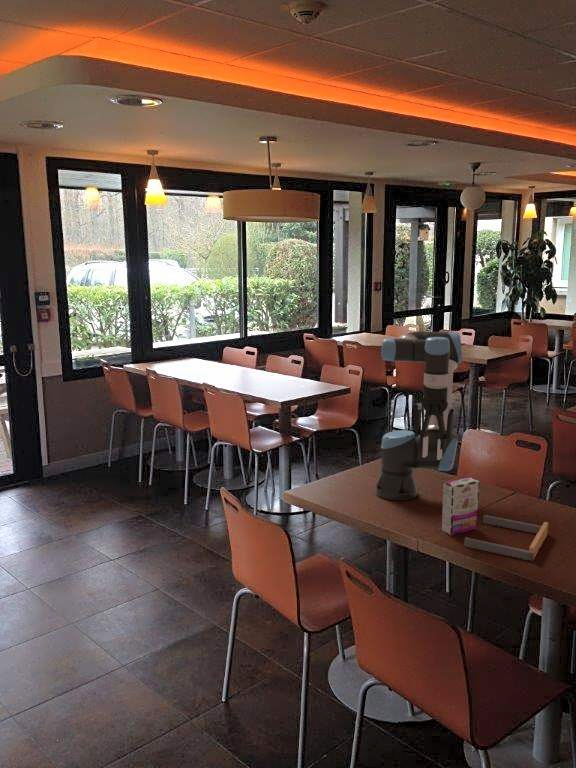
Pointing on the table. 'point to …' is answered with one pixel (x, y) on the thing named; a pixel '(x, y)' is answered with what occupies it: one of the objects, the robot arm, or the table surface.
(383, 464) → the robot arm
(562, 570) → the table surface
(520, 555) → the u-shaped frame
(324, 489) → the table surface
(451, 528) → the candy bar box
